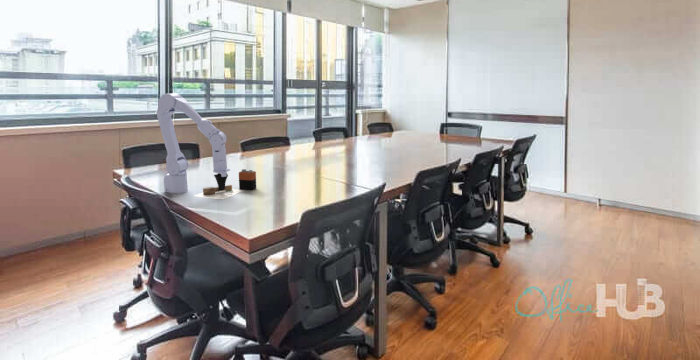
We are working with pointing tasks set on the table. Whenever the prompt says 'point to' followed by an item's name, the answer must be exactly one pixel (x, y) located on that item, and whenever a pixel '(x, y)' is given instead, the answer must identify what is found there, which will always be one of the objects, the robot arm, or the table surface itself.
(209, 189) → the dial
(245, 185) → the battery
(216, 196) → the board
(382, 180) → the table surface
